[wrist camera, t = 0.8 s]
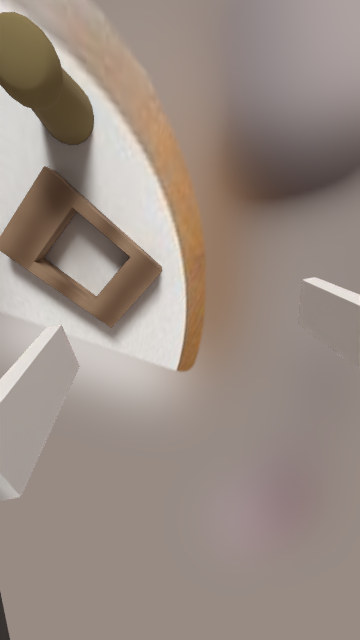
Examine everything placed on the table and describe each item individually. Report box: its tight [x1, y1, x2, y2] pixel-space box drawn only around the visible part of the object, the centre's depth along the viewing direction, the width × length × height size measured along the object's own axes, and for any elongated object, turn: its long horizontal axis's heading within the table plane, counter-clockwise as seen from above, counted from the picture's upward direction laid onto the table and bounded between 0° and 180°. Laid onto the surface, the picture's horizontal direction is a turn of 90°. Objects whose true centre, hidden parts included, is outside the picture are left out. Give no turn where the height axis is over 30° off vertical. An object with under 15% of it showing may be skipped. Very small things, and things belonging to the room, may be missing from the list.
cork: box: [0, 12, 94, 145], centre depth 21 cm, size 6×6×11 cm
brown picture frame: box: [0, 166, 162, 328], centre depth 32 cm, size 18×12×3 cm, turn 48°
